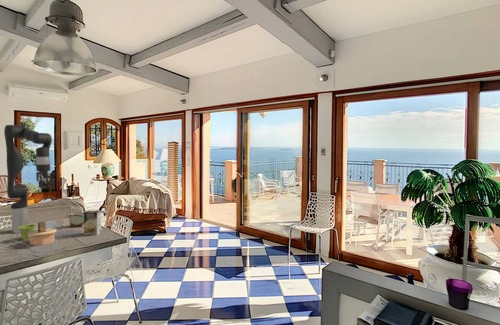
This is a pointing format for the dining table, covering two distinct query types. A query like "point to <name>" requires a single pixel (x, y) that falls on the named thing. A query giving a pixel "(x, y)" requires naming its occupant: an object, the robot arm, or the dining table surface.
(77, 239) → the dining table surface
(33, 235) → the oak lid
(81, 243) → the dining table surface
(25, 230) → the plant pot
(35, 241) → the terracotta bowl
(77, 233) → the charcoal mat
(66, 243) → the dining table surface
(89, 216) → the coffee box
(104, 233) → the dining table surface
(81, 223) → the food container
